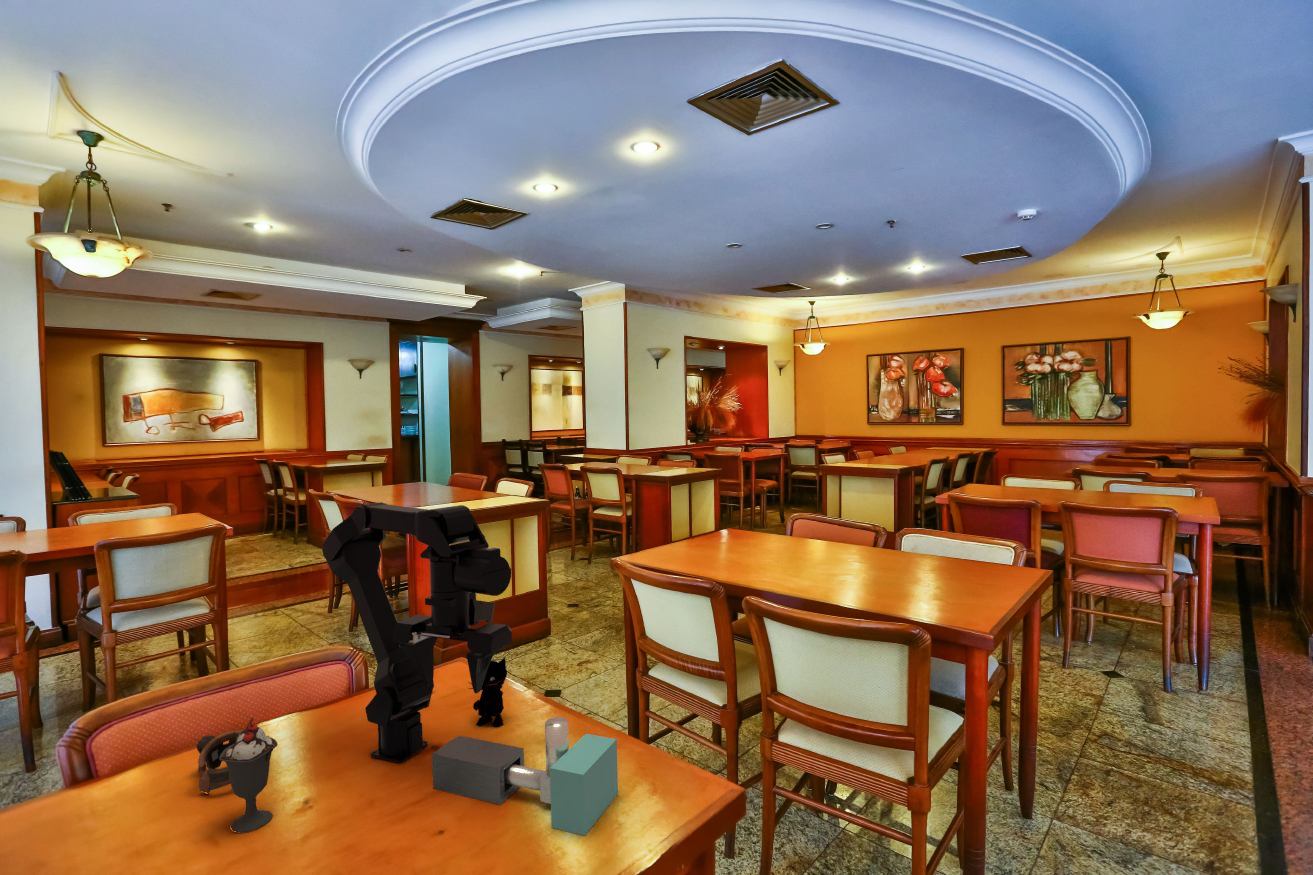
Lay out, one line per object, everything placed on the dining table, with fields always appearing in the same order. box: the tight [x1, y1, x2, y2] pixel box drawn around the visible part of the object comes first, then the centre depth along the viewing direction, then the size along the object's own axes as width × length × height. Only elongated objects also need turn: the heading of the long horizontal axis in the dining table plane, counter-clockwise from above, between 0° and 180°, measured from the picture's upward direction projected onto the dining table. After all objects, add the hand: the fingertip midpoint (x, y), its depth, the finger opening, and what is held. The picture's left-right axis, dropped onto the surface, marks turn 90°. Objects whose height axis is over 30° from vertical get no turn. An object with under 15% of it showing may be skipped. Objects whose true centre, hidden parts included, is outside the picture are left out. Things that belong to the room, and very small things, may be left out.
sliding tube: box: [504, 716, 570, 805], centre depth 92 cm, size 19×4×11 cm, turn 68°
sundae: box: [219, 716, 278, 834], centre depth 88 cm, size 7×7×15 cm
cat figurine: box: [466, 657, 508, 728], centre depth 116 cm, size 7×7×12 cm
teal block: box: [550, 733, 619, 837], centre depth 89 cm, size 5×10×8 cm, turn 158°
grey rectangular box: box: [431, 735, 525, 806], centre depth 95 cm, size 12×6×5 cm, turn 68°
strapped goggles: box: [195, 729, 244, 794], centre depth 99 cm, size 12×10×8 cm
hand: (453, 688), depth 99 cm, fingers open, 9 cm apart
